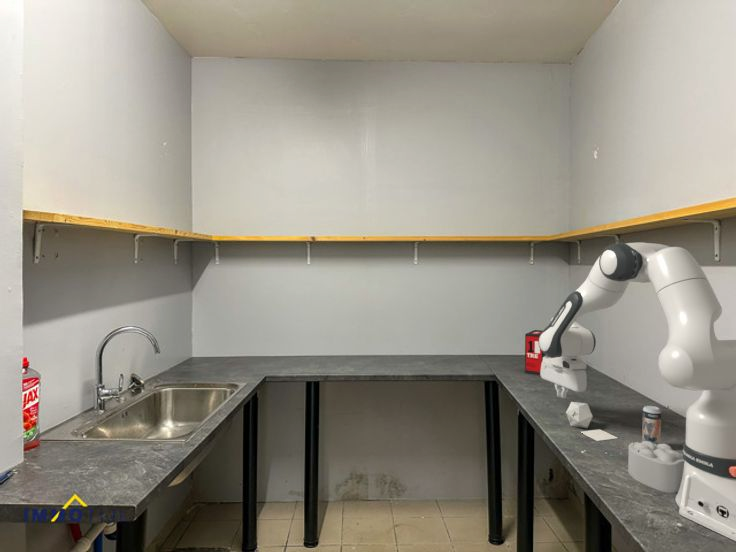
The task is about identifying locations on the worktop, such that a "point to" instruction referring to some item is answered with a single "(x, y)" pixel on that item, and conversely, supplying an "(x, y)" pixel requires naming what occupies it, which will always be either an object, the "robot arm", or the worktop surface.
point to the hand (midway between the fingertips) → (561, 397)
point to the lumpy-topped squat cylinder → (656, 466)
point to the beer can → (651, 424)
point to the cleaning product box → (533, 353)
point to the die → (579, 414)
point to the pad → (599, 435)
